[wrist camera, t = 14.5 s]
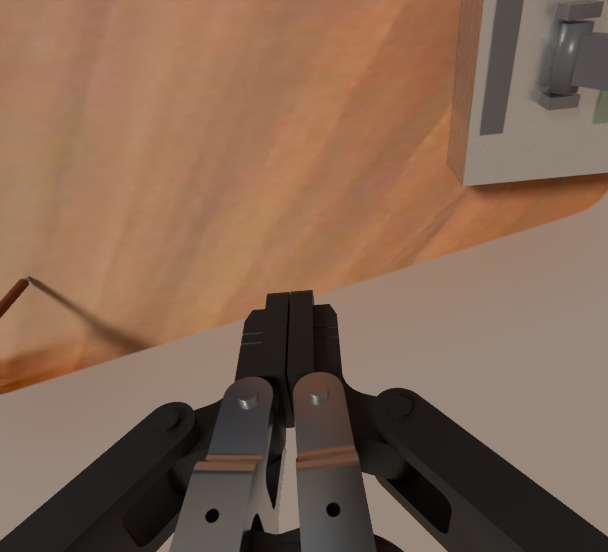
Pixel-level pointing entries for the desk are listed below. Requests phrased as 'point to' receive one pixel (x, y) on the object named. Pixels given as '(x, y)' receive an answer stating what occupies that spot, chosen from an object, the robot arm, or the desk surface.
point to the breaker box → (522, 95)
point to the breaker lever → (580, 59)
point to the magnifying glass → (13, 295)
